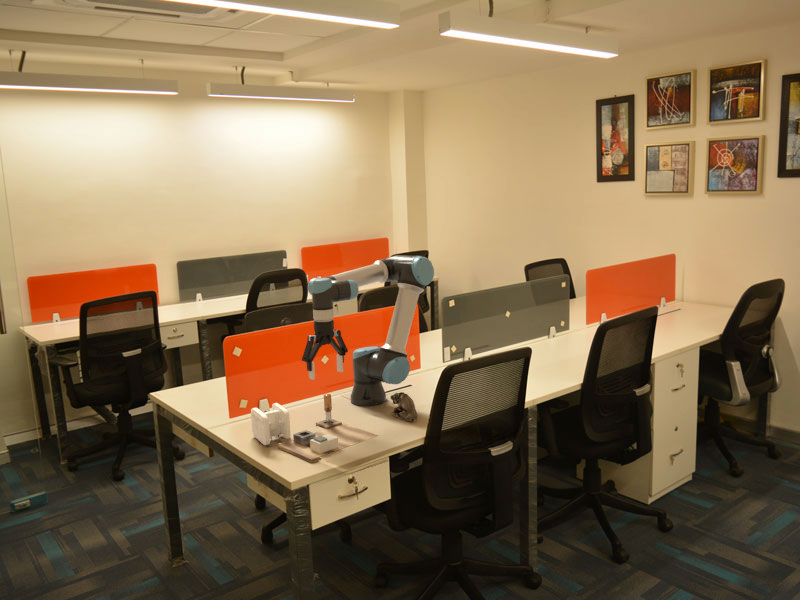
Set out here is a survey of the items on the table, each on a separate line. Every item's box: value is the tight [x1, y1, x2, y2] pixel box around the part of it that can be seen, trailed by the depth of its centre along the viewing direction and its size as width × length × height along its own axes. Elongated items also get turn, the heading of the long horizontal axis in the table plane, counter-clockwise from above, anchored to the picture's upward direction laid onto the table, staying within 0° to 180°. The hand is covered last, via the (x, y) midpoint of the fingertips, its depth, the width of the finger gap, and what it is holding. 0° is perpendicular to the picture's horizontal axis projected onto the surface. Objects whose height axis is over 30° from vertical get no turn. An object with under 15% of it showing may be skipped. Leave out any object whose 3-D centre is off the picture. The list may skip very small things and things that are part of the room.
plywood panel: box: [277, 422, 379, 464], centre depth 247 cm, size 30×20×4 cm, turn 133°
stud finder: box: [310, 434, 338, 453], centre depth 239 cm, size 8×6×4 cm
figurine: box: [390, 391, 418, 422], centre depth 271 cm, size 6×14×10 cm, turn 29°
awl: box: [323, 393, 333, 424], centre depth 262 cm, size 3×3×13 cm
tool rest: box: [315, 418, 343, 429], centre depth 263 cm, size 7×7×2 cm
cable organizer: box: [250, 402, 292, 446], centre depth 252 cm, size 15×11×12 cm
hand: (326, 375), depth 260 cm, fingers open, 13 cm apart
